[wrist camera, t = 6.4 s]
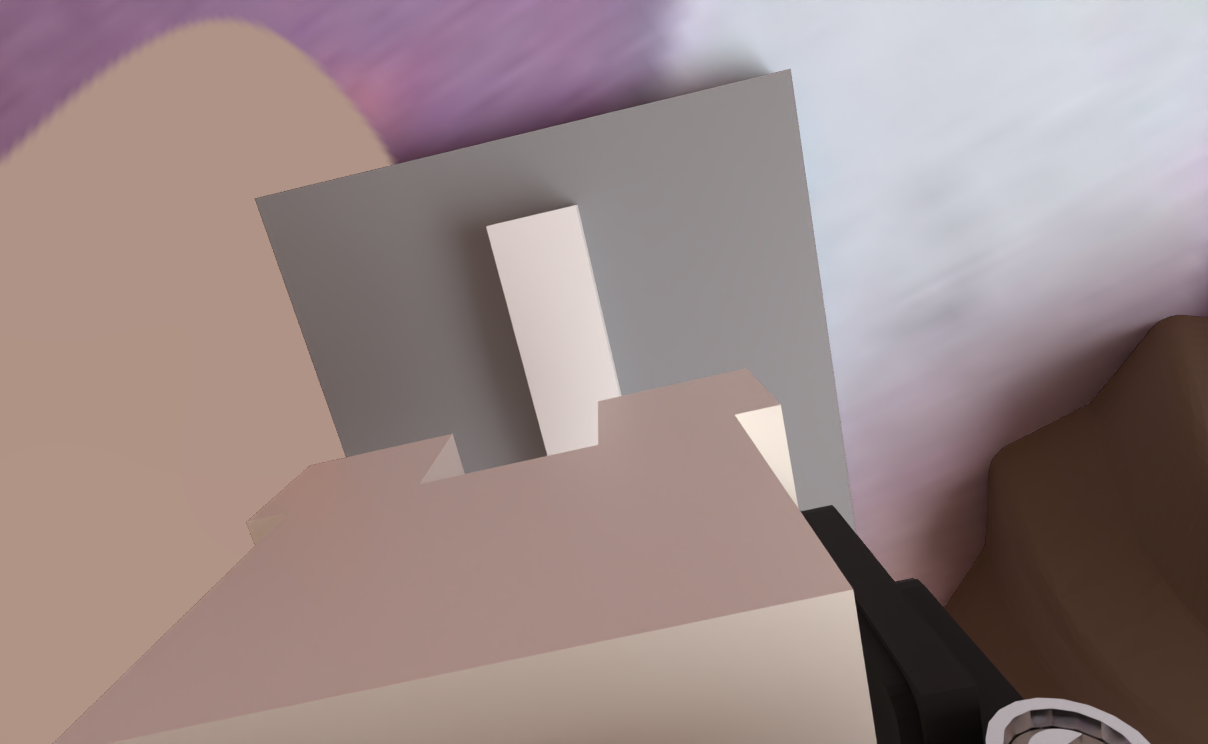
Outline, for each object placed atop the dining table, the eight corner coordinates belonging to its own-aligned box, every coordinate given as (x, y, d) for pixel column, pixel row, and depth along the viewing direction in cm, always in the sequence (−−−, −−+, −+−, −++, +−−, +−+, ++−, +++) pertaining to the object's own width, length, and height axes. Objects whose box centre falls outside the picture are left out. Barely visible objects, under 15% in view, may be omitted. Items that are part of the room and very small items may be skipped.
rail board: (276, 198, 18) (222, 198, 15) (778, 77, 17) (809, 55, 15) (441, 675, 22) (420, 739, 20) (853, 593, 21) (888, 648, 19)
